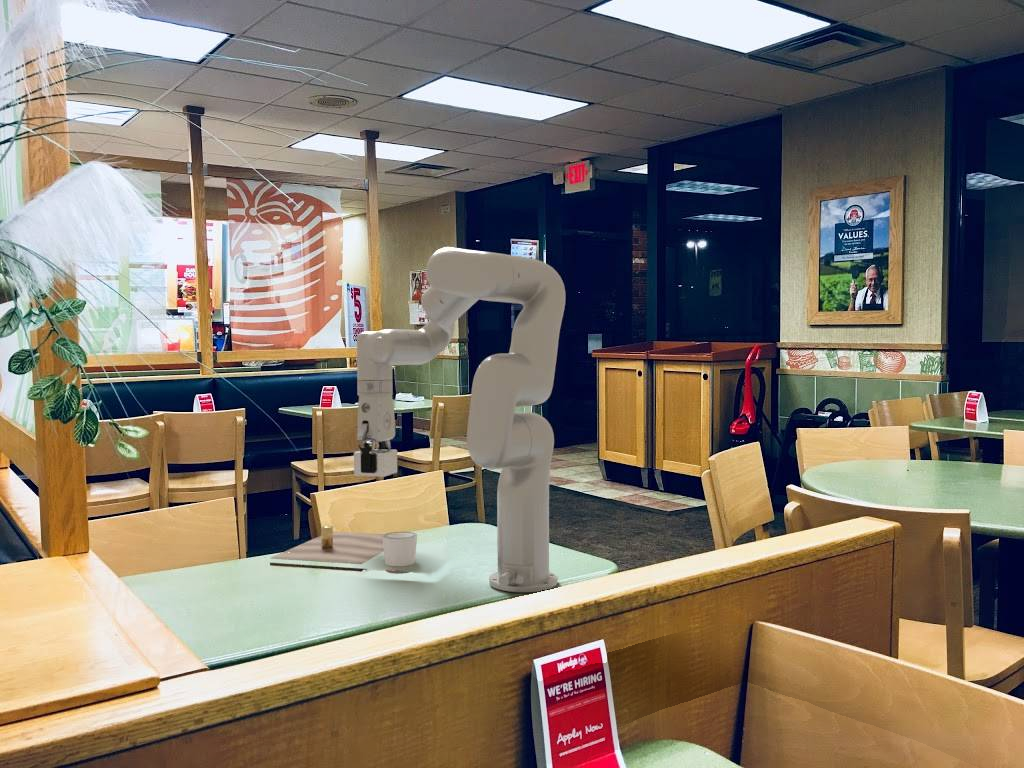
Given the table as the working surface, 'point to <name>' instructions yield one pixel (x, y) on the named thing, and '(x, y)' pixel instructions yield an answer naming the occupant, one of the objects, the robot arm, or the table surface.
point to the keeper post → (326, 537)
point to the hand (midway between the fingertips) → (375, 469)
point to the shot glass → (399, 549)
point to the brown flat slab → (335, 551)
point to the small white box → (378, 463)
